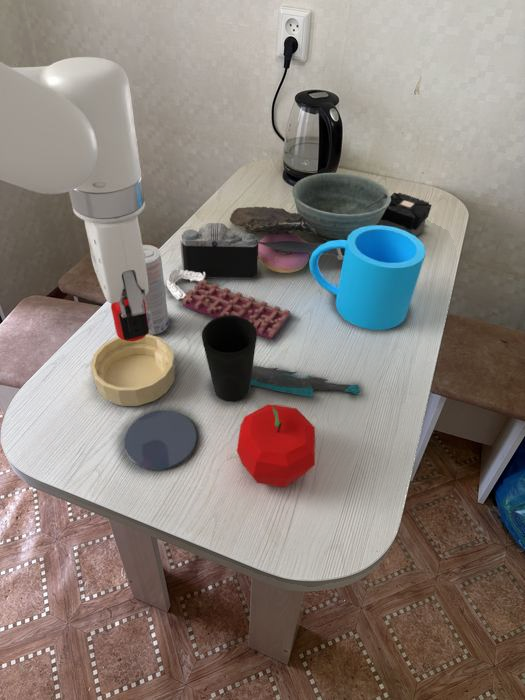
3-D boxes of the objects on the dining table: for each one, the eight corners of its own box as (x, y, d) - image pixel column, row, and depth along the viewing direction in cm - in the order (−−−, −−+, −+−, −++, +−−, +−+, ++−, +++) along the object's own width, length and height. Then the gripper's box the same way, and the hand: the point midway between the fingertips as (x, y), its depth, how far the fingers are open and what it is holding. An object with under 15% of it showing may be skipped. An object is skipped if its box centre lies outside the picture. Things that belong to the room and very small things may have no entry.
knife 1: (389, 266, 106) (381, 249, 109) (393, 260, 105) (385, 243, 108) (258, 256, 95) (253, 237, 98) (261, 249, 94) (256, 230, 97)
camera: (256, 260, 104) (258, 216, 97) (257, 279, 100) (259, 235, 93) (184, 258, 104) (181, 214, 97) (182, 278, 99) (178, 233, 92)
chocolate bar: (201, 284, 98) (200, 276, 96) (289, 316, 92) (290, 308, 90) (180, 304, 93) (179, 296, 92) (271, 340, 87) (272, 331, 86)
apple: (323, 490, 67) (333, 445, 60) (244, 505, 65) (245, 460, 58) (300, 426, 74) (307, 380, 67) (229, 438, 72) (229, 392, 65)
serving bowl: (106, 418, 74) (101, 400, 71) (88, 363, 81) (83, 345, 79) (185, 393, 78) (184, 375, 75) (161, 343, 86) (159, 325, 83)
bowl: (334, 269, 103) (342, 226, 96) (270, 226, 115) (272, 184, 108) (400, 238, 113) (411, 197, 106) (335, 201, 124) (341, 161, 117)
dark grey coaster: (135, 481, 66) (135, 479, 66) (116, 425, 73) (116, 423, 72) (206, 455, 70) (206, 453, 69) (183, 404, 76) (182, 401, 76)
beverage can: (175, 321, 90) (167, 249, 79) (157, 340, 86) (147, 267, 76) (148, 312, 91) (137, 240, 81) (130, 330, 88) (116, 257, 77)
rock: (291, 223, 117) (227, 223, 115) (292, 206, 116) (227, 206, 113) (322, 235, 94) (242, 235, 91) (323, 214, 93) (243, 214, 90)
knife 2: (358, 409, 77) (361, 385, 80) (359, 404, 76) (362, 381, 80) (205, 378, 80) (214, 356, 84) (204, 373, 80) (214, 352, 83)
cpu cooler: (371, 228, 116) (412, 243, 112) (376, 205, 112) (419, 220, 108) (389, 210, 122) (429, 224, 119) (395, 188, 118) (436, 202, 115)
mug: (412, 296, 98) (431, 236, 89) (398, 338, 89) (418, 276, 80) (316, 270, 103) (325, 210, 94) (294, 308, 94) (301, 246, 85)
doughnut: (316, 272, 103) (320, 256, 100) (267, 281, 100) (269, 264, 97) (295, 240, 110) (298, 224, 106) (248, 247, 106) (250, 230, 103)
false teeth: (182, 266, 100) (182, 258, 98) (207, 281, 99) (208, 272, 97) (156, 291, 96) (155, 282, 94) (182, 306, 95) (182, 298, 93)
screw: (383, 196, 105) (385, 192, 105) (387, 199, 105) (389, 195, 104) (361, 208, 101) (363, 205, 100) (365, 212, 101) (367, 208, 100)
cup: (255, 408, 76) (256, 355, 67) (205, 406, 76) (198, 353, 67) (256, 369, 81) (257, 315, 72) (209, 368, 81) (204, 314, 72)
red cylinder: (120, 344, 65) (113, 311, 61) (113, 324, 67) (106, 291, 64) (152, 336, 66) (147, 302, 62) (144, 317, 69) (138, 283, 65)
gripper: (57, 166, 57) (89, 294, 70) (86, 240, 47) (117, 375, 59) (123, 156, 60) (142, 282, 73) (165, 225, 49) (179, 358, 62)
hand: (131, 322), depth 66 cm, fingers closed on red cylinder, 4 cm apart
